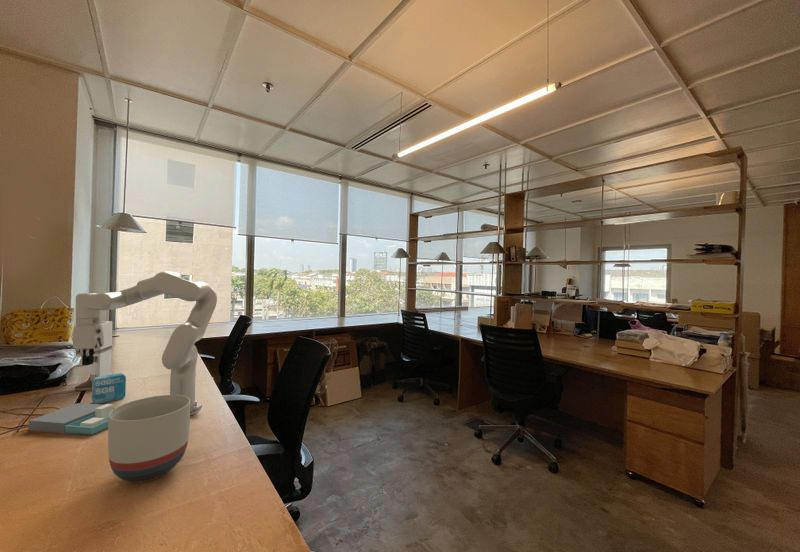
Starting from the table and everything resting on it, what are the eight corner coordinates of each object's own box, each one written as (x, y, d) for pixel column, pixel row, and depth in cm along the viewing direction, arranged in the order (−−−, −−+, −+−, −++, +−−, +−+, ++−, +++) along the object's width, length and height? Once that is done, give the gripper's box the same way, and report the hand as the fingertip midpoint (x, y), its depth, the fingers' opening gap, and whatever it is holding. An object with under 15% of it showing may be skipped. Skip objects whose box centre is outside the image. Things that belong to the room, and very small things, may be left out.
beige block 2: (106, 415, 142) (113, 415, 142) (95, 420, 138) (101, 420, 137) (107, 403, 142) (113, 404, 142) (95, 408, 138) (101, 408, 137)
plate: (109, 414, 145) (110, 405, 145) (64, 433, 127) (64, 423, 127) (77, 411, 147) (78, 403, 147) (28, 430, 129) (28, 420, 129)
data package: (92, 405, 155) (93, 379, 155) (91, 402, 158) (92, 377, 158) (125, 398, 164) (125, 374, 164) (123, 395, 167) (124, 372, 167)
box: (134, 415, 144) (135, 409, 144) (92, 435, 126) (92, 427, 126) (110, 414, 145) (110, 407, 145) (64, 433, 127) (64, 425, 127)
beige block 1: (93, 417, 134) (93, 424, 134) (80, 422, 129) (80, 430, 129) (104, 418, 133) (104, 425, 133) (91, 423, 128) (91, 431, 128)
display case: (88, 383, 183) (89, 321, 183) (111, 382, 187) (112, 321, 187) (74, 390, 172) (76, 324, 173) (99, 389, 176) (100, 324, 176)
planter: (177, 450, 117) (178, 390, 117) (198, 472, 104) (200, 405, 104) (100, 476, 101) (102, 407, 101) (114, 507, 88) (116, 427, 88)
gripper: (112, 320, 143) (112, 362, 143) (80, 320, 144) (80, 362, 144) (95, 323, 135) (95, 367, 135) (61, 322, 136) (61, 366, 136)
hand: (87, 364), depth 140 cm, fingers closed
